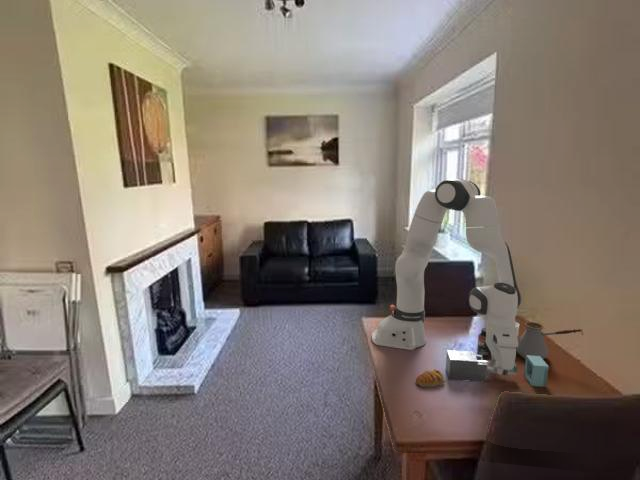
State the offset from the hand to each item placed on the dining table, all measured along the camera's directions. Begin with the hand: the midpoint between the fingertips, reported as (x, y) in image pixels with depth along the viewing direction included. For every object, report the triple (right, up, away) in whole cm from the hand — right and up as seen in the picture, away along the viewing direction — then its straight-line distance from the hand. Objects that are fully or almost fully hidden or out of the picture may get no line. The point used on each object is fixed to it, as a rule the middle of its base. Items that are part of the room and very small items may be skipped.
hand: (496, 368), depth 136 cm
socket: (+13, -4, -1) cm, 13 cm away
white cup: (+15, +1, +24) cm, 29 cm away
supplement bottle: (+2, -1, +15) cm, 15 cm away
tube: (-3, -2, +1) cm, 4 cm away
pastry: (-23, -4, -2) cm, 24 cm away
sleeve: (-10, -3, +2) cm, 10 cm away
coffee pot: (+24, -1, +13) cm, 28 cm away
